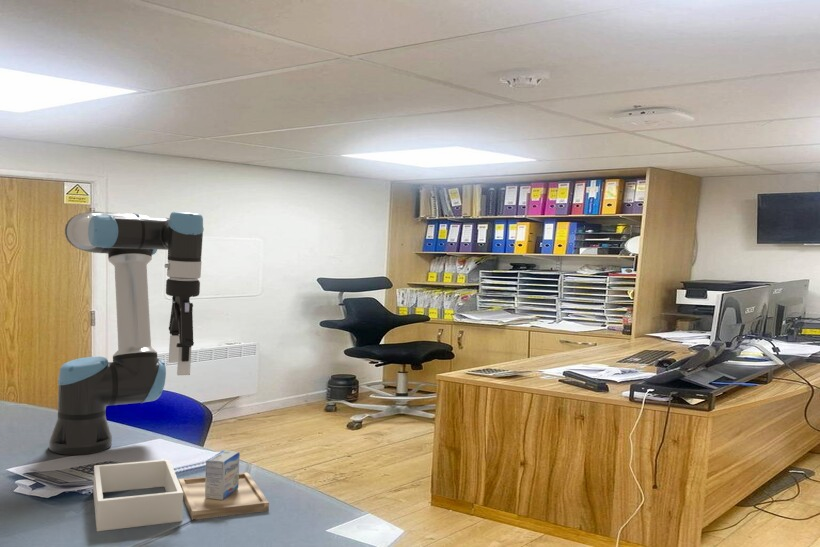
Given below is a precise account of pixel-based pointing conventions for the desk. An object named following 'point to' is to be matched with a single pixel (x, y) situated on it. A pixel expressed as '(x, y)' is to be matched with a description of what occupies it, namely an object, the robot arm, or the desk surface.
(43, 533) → the desk surface
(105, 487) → the deep bin
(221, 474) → the medicine box
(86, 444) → the robot arm
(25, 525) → the desk surface
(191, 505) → the oak tray
